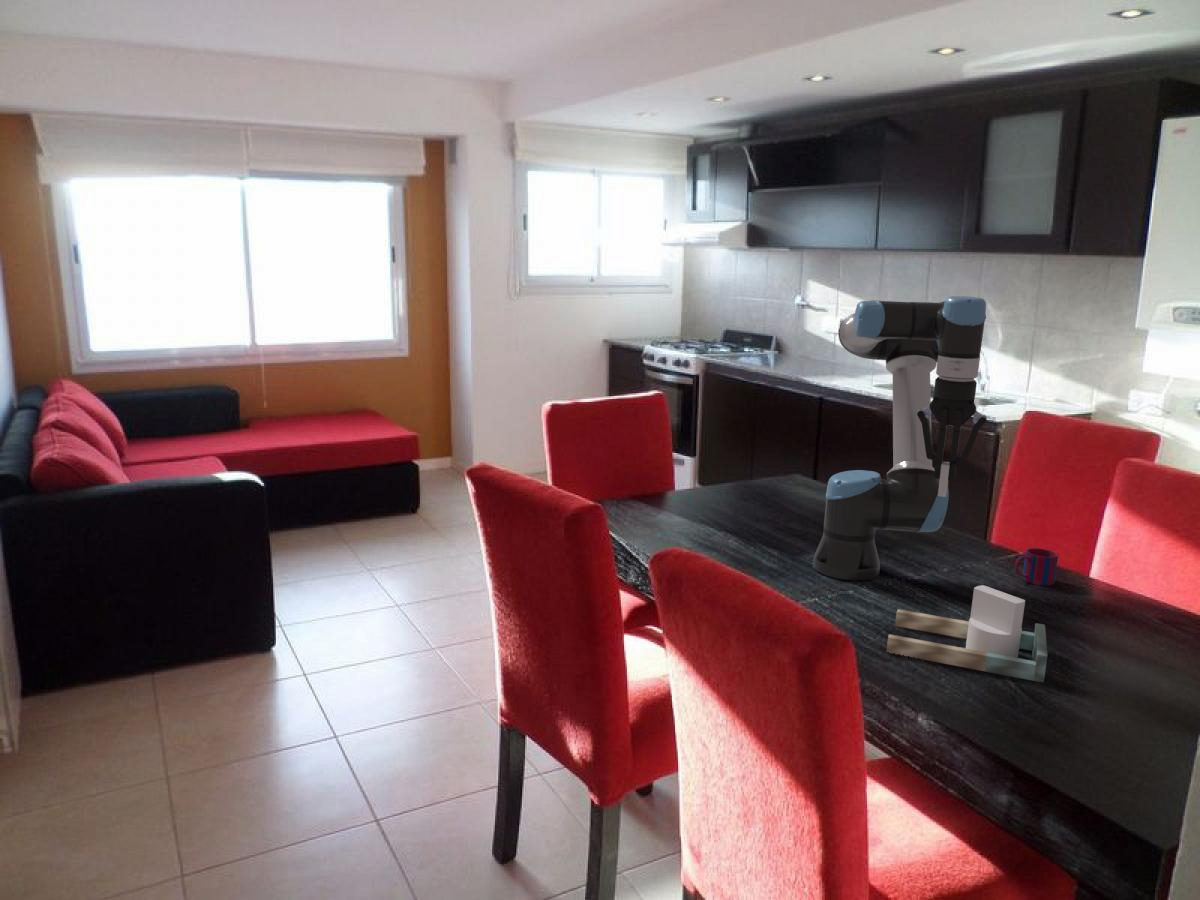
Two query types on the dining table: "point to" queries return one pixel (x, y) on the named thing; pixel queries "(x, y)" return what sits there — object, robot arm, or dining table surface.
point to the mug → (1038, 566)
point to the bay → (967, 656)
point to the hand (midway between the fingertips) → (942, 494)
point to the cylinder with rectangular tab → (995, 622)
